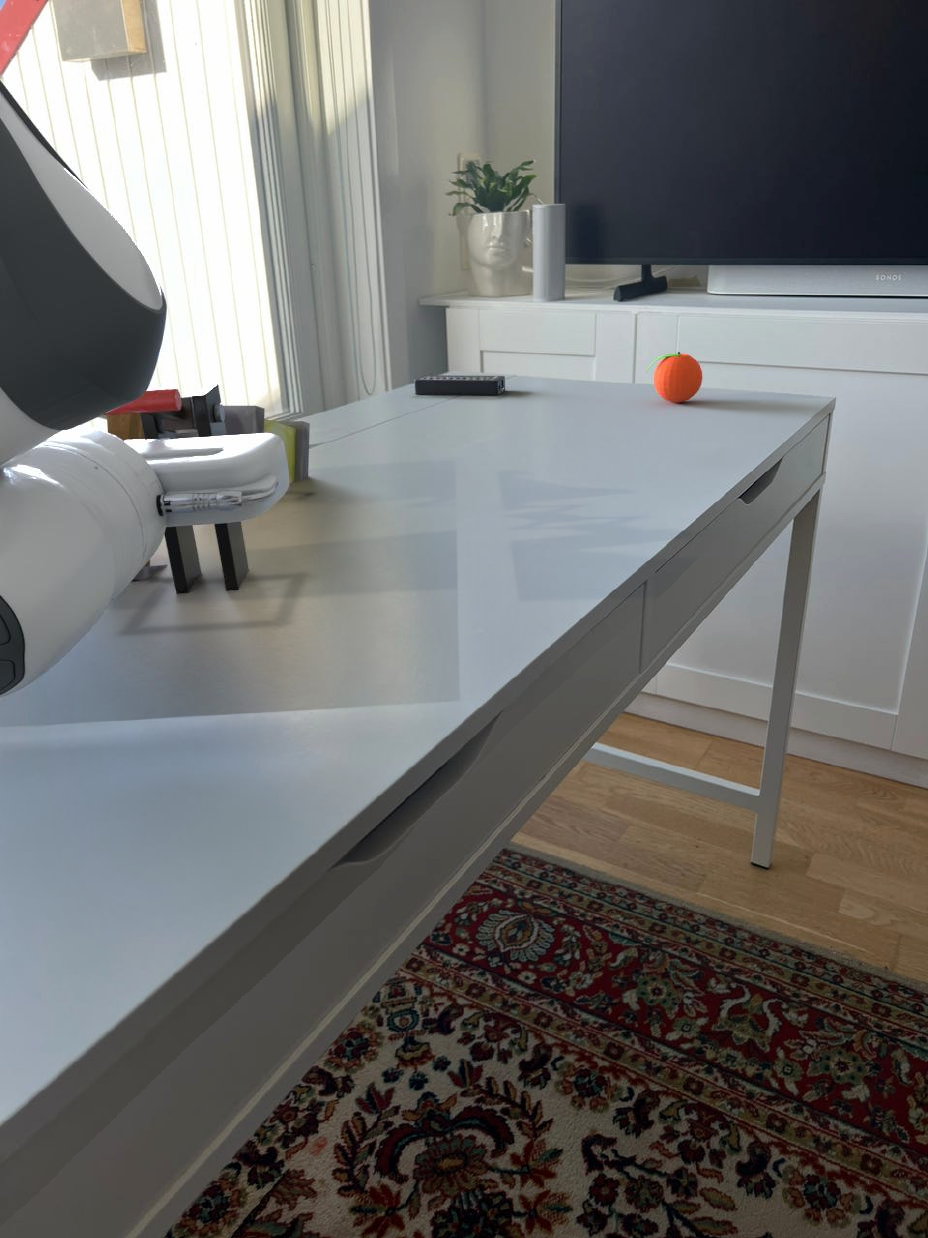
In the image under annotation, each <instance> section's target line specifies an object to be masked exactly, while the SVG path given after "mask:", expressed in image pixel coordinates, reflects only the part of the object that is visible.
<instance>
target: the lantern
mask: <svg viewBox="0 0 928 1238" xmlns="http://www.w3.org/2000/svg"><path fill="white" fill-rule="evenodd" d="M223 408H224V412H225V420H224V422H225V428H226V434H227V436H234V435H249V434H263V433H268V434H273V435H277V436H279V437H281V438H282V440H283V442H284V446H285V451H286V457H287V463H288V471H289V484H292V483H294V482H302V481H304V480H305V479H306V478H308V477H309V463H310V462H309V461H310V459H309V458H310V429H311V428H310V427H311V423H310V422H307V421H303V420H270V419H268V418H265V409H266V408H264V407H261V406H258V405H223ZM106 426H107V433H109V434H112V435H114V436H116V437H118V438H120V439H121V440H123V441H124V442H125V441H126V440H145V436H144V431H143V426H142V421H141V416H140V413H133V414H116V415H106ZM175 434H176V439H188V438H199V435H198V432H190V433H175ZM167 566H168V564H158V565H157V564H156V565H151V559H150V560H149V561H148V562H147V563H146V564H145V566H144V567H143V568H142V569H141V570H140V571H139V573H138V574H137V575H136V576H135V577H134V579H133V580H135V581H136V580H137V581H138V580H139V581H143V580H147V579H149V578H150V577H152V576H154V575H155V574H156V573H158V572H160V571H161V570H162V569H164V568H166V567H167ZM133 580H132V581H133Z"/></svg>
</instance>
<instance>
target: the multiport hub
mask: <svg viewBox="0 0 928 1238" xmlns="http://www.w3.org/2000/svg"><path fill="white" fill-rule="evenodd" d="M413 381H414V395H440V396H441V395H444V396H446V395H447V396H499V395H501V394H502V393H504V392H505V391H506V376H504V375H450V374H449V375H446V374H445V375H443V374H442V375H438V374H437V375H436V374H435V375H433V374H432V375H431V374H430V375H429V374H427V375H426V374H424V375H422V376H420V377H418V378H416V379H414V380H413ZM503 388H504V389H503Z"/></svg>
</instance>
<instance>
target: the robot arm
mask: <svg viewBox="0 0 928 1238" xmlns="http://www.w3.org/2000/svg"><path fill="white" fill-rule="evenodd" d="M167 314H168V303H167V299H166V296H165V293H164V290H163V289H162V287H161V285H160V283H159V280H158V278H157V277H156V275H155V271H154V270H153V269H152V265H151V264H150V262H149V261H148V259H147V257H146V256H145V254H144V253H143V251H142V249H141V248H140V246H139V244H138V243H136V241H135V240H134V238H133V236H131V235H130V233H129V232H128V230H127V229H126V228H125V227H124V226H123V224H122V223H121V222H120V221H119V219H118V218H117V217H115V215H114V214H113V213H112V212H111V211H110V210H109V209H108V208H107V207H106V206H105V205H104V204H103V202H101V201H100V200H99V199H98V198H97V197H96V196H95V195H94V194H93V192H92V191H91V190H90V189H89V188H88V187H87V185H86V184H85V183H84V182H83V181H82V180H81V179H80V178H79V177H78V176H77V174H76V173H75V171H73V169H71V167H70V166H69V165H68V164H67V163H66V162H65V161H64V159H63V158H62V157H61V156H60V154H58V152H57V151H56V150H55V148H54V147H53V146H52V145H51V143H49V141H48V140H47V139H46V137H45V136H44V134H43V133H42V132H41V130H39V128H38V127H37V126H36V124H34V122H33V121H32V120H31V118H30V117H29V116H28V114H27V113H26V112H25V110H24V109H23V108H22V107H21V105H20V103H19V102H18V101H17V100H16V99H15V97H14V96H13V95H12V93H11V92H10V91H9V89H8V88H7V87H6V85H5V84H4V83H3V82H2V80H1V79H0V698H3V697H6V696H9V695H12V694H14V693H16V692H18V691H20V690H22V689H23V688H25V687H27V686H29V685H30V684H31V683H33V682H34V681H36V680H38V679H39V678H41V677H42V676H43V675H45V674H46V673H47V672H48V671H50V670H51V669H52V668H53V667H54V666H56V665H57V664H58V663H59V662H60V661H61V660H62V659H63V658H64V657H66V655H67V654H68V653H69V652H70V651H72V650H73V649H74V648H75V647H76V645H78V643H80V642H81V641H82V639H83V638H84V637H85V636H86V635H87V634H88V633H89V632H90V631H91V630H92V629H93V627H94V626H95V625H96V624H97V623H98V622H99V620H100V619H101V618H102V616H103V615H104V613H105V612H106V610H107V609H108V606H109V604H110V602H111V601H112V600H114V599H115V598H117V597H118V596H119V595H120V594H122V592H124V590H125V589H126V588H127V587H128V586H129V585H130V584H131V582H132V581H133V579H134V577H135V576H136V575H137V574H138V573H139V571H140V570H141V569H142V568H143V567H144V566H145V564H146V563H147V562H148V561H149V560H150V561H151V558H152V557H153V556H154V555H155V553H156V552H157V550H159V548H160V545H161V543H162V542H163V539H164V538H165V535H164V533H165V530H166V527H175V526H190V525H193V526H204V525H214V524H221V523H232V522H239V521H241V522H244V521H249V520H252V519H254V518H257V517H260V516H262V515H263V514H265V513H266V512H268V511H269V510H271V508H272V507H274V506H275V505H276V504H277V503H278V502H279V501H280V500H281V499H282V498H283V497H284V496H285V495H286V493H287V492H288V490H289V487H290V483H289V471H288V463H287V457H286V451H285V446H284V442H283V440H282V438H281V437H279V436H277V435H273V434H268V433H263V434H249V435H234V436H218V437H203V438H188V439H173V440H170V438H158V439H146V440H126V441H125V442H124V441H123V440H121V439H120V438H118V437H116V436H114V435H112V434H109V433H108V431H104V430H101V429H98V428H94V427H89V426H83V425H84V424H86V423H88V422H90V421H92V420H95V419H97V418H99V417H101V416H105V415H104V414H106V413H108V412H110V411H112V410H114V409H117V408H119V407H121V406H123V405H125V404H127V403H130V402H132V401H134V400H136V399H138V398H140V397H142V396H143V395H144V394H145V392H146V391H147V390H149V389H148V388H149V387H150V384H151V382H152V379H153V376H154V374H155V371H156V368H157V365H158V362H159V358H160V354H161V352H162V347H163V344H164V343H163V342H164V337H165V332H166V326H167V325H166V324H167Z"/></svg>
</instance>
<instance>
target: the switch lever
mask: <svg viewBox="0 0 928 1238" xmlns="http://www.w3.org/2000/svg"><path fill="white" fill-rule="evenodd" d="M133 413H143V414H147V415H151V416H155V417H159V418H163V420H164V430H165V431H168V432H173V433H190V432H198V430H197V424H196V418H195V413H194V407H193V401H192V396H182V395H181V393H180V389H178V388H177V387H170V388H169V387H168V388H167V389H154V388H153V389H147V391H146V392H145V394H144V395H143V396H142V397H140V398H138V399H136V400H134V401H132V402H130V403H127V404H125V405H123V406H121V407H119V408H117V409H114V410H112V411H110V412H108V413H106V414H104V415H103V416H107V415H116V414H133Z"/></svg>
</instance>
